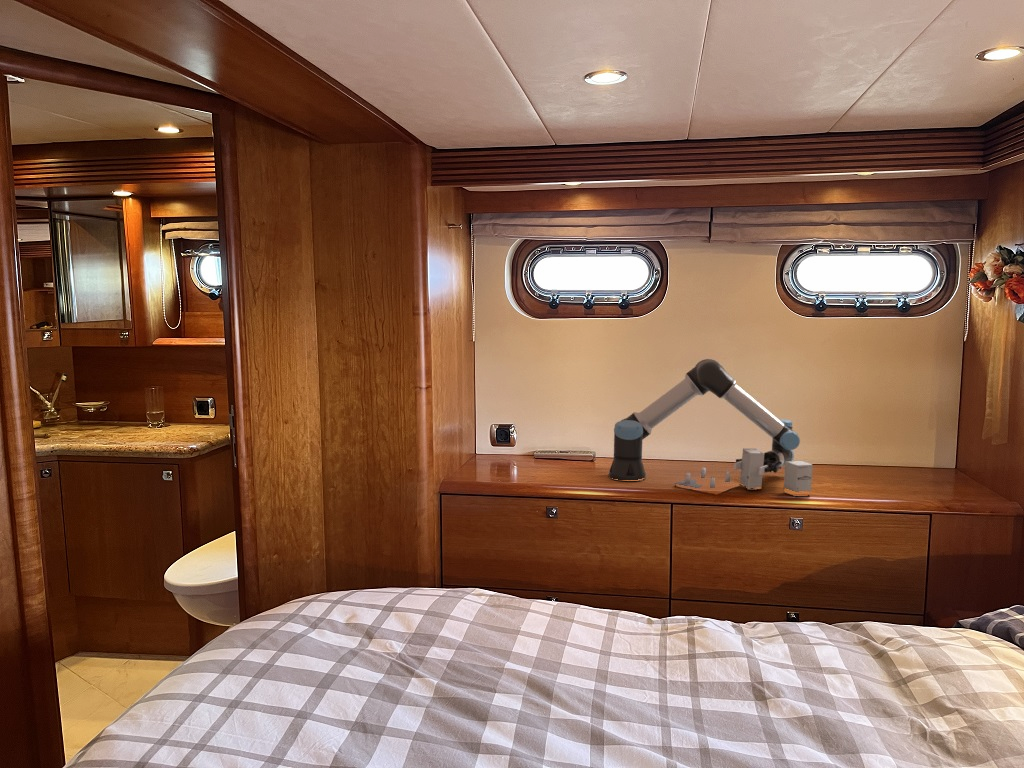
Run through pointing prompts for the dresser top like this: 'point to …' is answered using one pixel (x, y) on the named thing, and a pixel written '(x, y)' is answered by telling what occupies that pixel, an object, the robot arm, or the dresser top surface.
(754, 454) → the skincare box
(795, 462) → the supplement box
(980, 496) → the dresser top surface
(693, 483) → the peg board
